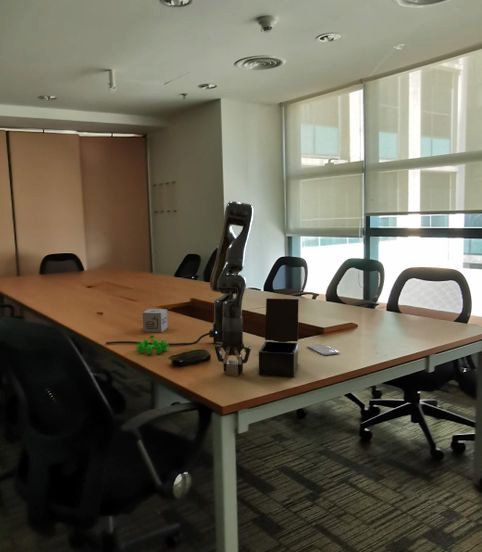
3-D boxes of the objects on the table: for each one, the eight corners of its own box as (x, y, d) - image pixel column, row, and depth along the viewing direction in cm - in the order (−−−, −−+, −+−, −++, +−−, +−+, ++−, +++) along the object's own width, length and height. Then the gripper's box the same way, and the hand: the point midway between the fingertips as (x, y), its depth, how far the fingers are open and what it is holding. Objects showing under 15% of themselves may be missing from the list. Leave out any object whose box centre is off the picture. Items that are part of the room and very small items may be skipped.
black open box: (293, 377, 178) (293, 353, 177) (258, 375, 181) (258, 351, 180) (297, 364, 193) (297, 342, 192) (265, 362, 196) (265, 341, 195)
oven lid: (298, 299, 193) (299, 300, 198) (266, 298, 197) (268, 299, 202) (297, 341, 191) (298, 341, 197) (265, 340, 195) (267, 340, 200)
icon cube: (161, 332, 253) (160, 313, 252) (143, 331, 255) (142, 312, 254) (167, 327, 263) (166, 309, 261) (149, 327, 265) (149, 309, 264)
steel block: (226, 375, 182) (226, 363, 182) (228, 371, 186) (228, 360, 186) (237, 375, 181) (237, 364, 180) (240, 372, 185) (240, 360, 185)
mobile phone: (322, 342, 221) (339, 351, 206) (322, 344, 221) (339, 353, 207) (306, 344, 219) (323, 353, 204) (306, 346, 219) (323, 355, 204)
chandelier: (145, 358, 207) (145, 341, 206) (129, 350, 219) (128, 335, 218) (175, 351, 215) (175, 336, 215) (158, 344, 228) (158, 330, 227)
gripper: (253, 326, 183) (253, 371, 185) (216, 325, 187) (217, 368, 189) (249, 331, 176) (250, 377, 178) (211, 329, 180) (212, 375, 182)
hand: (233, 372), depth 184 cm, fingers closed on steel block, 4 cm apart
